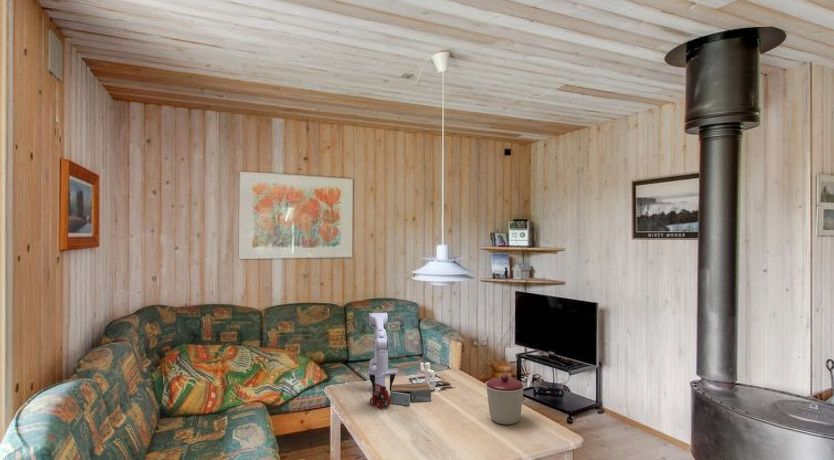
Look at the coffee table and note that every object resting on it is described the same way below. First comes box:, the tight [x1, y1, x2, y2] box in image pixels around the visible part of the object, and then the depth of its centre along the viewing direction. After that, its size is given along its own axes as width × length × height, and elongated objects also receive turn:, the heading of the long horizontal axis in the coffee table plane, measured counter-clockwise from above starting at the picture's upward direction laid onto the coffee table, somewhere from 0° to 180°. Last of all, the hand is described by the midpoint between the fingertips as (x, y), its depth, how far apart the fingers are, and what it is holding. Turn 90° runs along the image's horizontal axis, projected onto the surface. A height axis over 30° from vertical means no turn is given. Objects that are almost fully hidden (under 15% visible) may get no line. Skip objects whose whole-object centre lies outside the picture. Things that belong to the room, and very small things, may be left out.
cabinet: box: [389, 382, 432, 403], centre depth 242 cm, size 12×20×6 cm, turn 97°
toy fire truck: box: [369, 383, 392, 410], centre depth 234 cm, size 7×12×10 cm, turn 44°
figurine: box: [419, 361, 438, 391], centre depth 256 cm, size 7×9×15 cm
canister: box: [484, 373, 526, 426], centre depth 214 cm, size 18×18×21 cm
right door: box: [391, 392, 411, 407], centre depth 234 cm, size 2×10×6 cm, turn 67°
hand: (382, 390), depth 227 cm, fingers open, 7 cm apart
